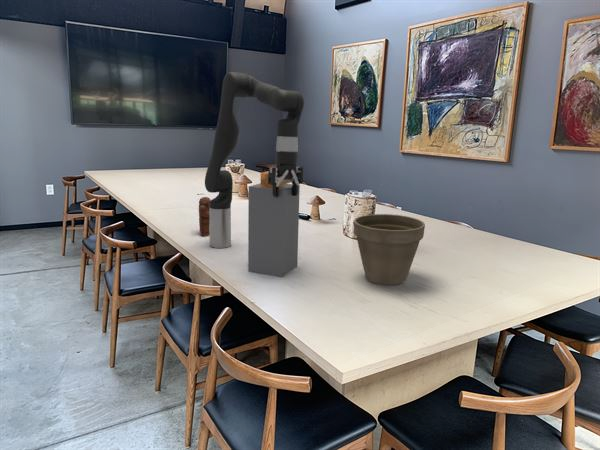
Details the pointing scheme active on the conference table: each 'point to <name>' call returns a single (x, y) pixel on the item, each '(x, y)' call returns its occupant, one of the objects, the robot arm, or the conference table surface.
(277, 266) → the pedestal
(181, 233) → the conference table surface
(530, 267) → the conference table surface
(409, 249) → the plant pot
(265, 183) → the mallet
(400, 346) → the conference table surface
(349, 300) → the conference table surface
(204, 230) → the wooden figurine
